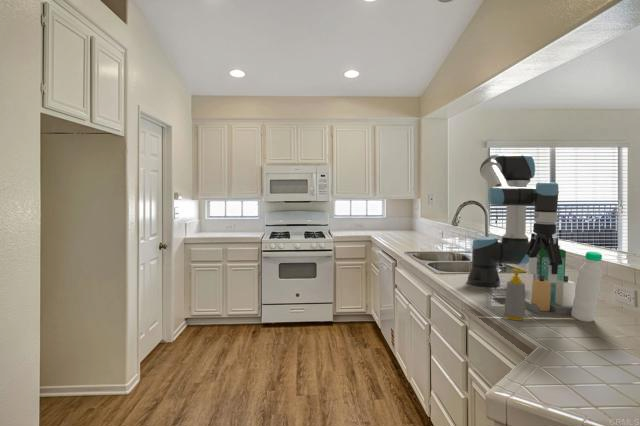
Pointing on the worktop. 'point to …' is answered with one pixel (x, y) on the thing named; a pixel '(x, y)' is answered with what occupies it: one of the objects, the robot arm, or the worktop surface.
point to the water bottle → (587, 288)
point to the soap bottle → (515, 298)
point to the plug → (541, 293)
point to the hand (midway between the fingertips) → (541, 278)
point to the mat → (500, 300)
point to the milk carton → (544, 269)
